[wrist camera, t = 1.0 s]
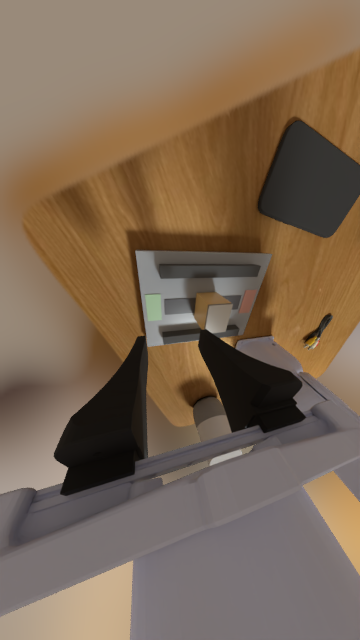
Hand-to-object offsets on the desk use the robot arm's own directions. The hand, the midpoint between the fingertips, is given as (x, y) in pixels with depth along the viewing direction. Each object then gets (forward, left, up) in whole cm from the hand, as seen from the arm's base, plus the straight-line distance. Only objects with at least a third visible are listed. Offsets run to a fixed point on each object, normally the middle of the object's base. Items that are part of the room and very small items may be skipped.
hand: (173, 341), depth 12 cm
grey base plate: (-6, 0, -9) cm, 11 cm away
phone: (-20, -14, -10) cm, 26 cm away
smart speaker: (-12, +35, -10) cm, 38 cm away
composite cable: (-40, +11, -10) cm, 43 cm away
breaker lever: (-6, 0, -7) cm, 9 cm away
